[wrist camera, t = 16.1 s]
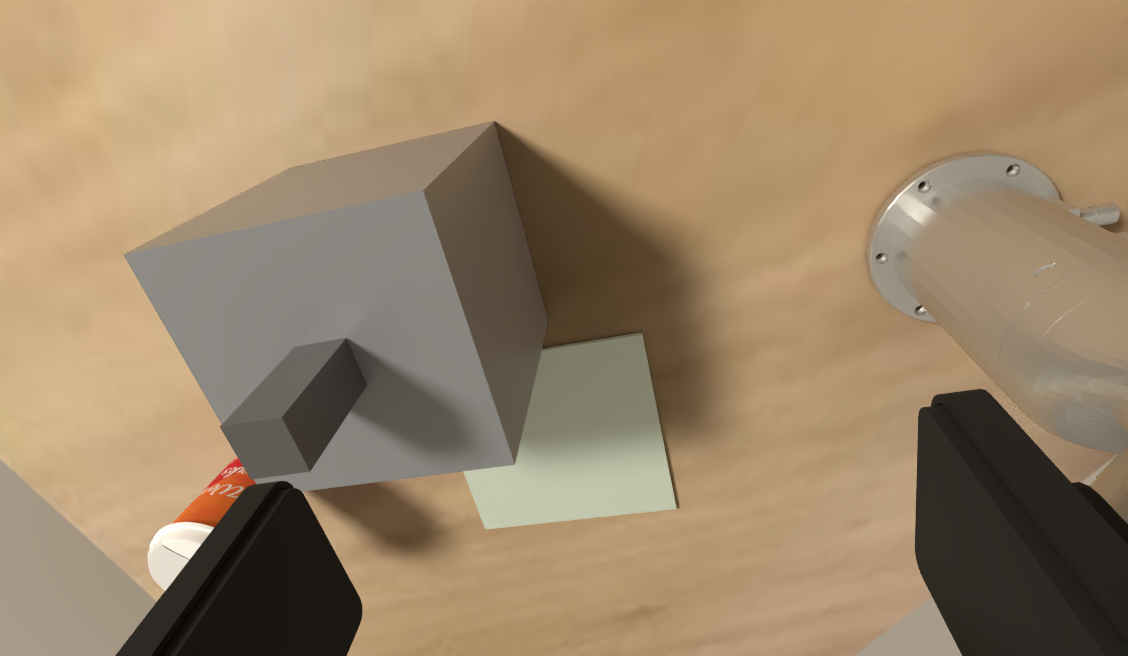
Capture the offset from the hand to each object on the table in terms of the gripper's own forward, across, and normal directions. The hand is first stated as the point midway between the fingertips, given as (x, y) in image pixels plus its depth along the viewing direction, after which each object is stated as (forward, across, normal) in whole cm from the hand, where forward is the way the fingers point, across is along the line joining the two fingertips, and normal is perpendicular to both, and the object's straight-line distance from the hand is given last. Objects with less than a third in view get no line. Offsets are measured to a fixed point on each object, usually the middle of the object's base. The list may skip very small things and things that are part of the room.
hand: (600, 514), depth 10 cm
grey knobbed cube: (+38, +17, +7) cm, 42 cm away
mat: (+38, +11, +27) cm, 48 cm away
